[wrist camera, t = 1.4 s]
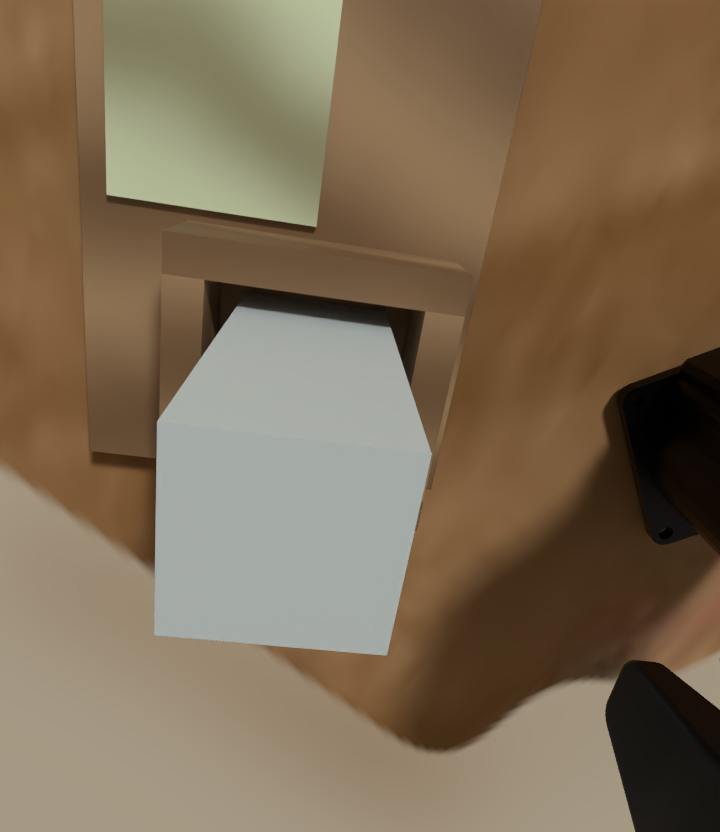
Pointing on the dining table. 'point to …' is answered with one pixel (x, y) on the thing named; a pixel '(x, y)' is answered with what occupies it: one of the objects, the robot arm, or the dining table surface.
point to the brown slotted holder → (285, 179)
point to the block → (289, 482)
